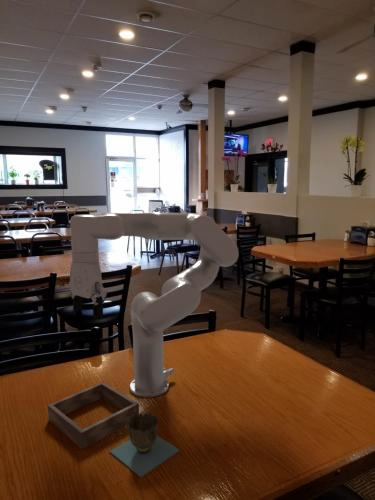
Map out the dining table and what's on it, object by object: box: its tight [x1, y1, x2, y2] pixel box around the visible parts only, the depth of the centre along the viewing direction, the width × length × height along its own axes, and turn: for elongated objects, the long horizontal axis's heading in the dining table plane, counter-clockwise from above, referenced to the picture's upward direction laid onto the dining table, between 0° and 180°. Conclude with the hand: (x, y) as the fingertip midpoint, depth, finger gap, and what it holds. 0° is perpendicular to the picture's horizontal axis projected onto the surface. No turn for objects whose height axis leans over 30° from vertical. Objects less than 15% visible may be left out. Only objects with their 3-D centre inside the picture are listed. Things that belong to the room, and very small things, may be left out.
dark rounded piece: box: [127, 411, 159, 454], centre depth 93 cm, size 8×7×8 cm
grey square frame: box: [47, 381, 140, 450], centre depth 107 cm, size 18×18×4 cm
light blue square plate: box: [109, 435, 180, 478], centre depth 94 cm, size 12×12×1 cm
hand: (88, 313), depth 114 cm, fingers open, 9 cm apart
